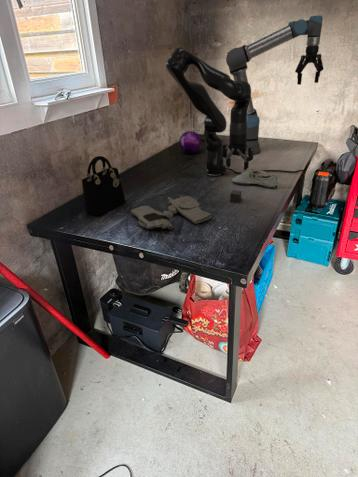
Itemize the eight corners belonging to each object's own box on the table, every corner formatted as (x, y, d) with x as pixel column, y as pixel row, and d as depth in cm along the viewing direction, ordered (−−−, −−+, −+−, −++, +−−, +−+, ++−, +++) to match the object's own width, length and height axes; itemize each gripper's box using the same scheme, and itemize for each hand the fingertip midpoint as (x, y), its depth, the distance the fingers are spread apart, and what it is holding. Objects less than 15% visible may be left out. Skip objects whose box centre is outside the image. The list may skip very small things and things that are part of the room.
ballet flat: (235, 178, 184) (236, 165, 180) (279, 184, 173) (281, 170, 169) (230, 183, 177) (230, 169, 173) (275, 190, 166) (276, 175, 163)
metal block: (240, 199, 160) (241, 190, 157) (238, 202, 156) (239, 194, 154) (232, 198, 161) (232, 190, 159) (230, 201, 158) (230, 193, 155)
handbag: (98, 217, 149) (87, 164, 137) (84, 214, 154) (72, 161, 141) (127, 201, 164) (120, 151, 152) (113, 198, 169) (105, 149, 156)
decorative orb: (204, 151, 235) (204, 129, 228) (194, 156, 225) (193, 134, 217) (186, 149, 243) (186, 128, 235) (175, 154, 232) (174, 132, 224)
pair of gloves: (147, 237, 131) (146, 225, 129) (129, 213, 152) (128, 202, 149) (214, 220, 141) (214, 209, 138) (188, 199, 162) (188, 189, 159)
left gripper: (257, 131, 141) (254, 168, 149) (227, 128, 149) (227, 163, 157) (249, 135, 136) (247, 173, 144) (219, 132, 144) (219, 168, 152)
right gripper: (324, 44, 209) (319, 81, 220) (291, 47, 202) (288, 84, 213) (333, 44, 203) (327, 82, 214) (300, 46, 196) (295, 85, 207)
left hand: (236, 168), depth 151 cm, fingers open, 8 cm apart
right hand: (307, 83), depth 213 cm, fingers open, 13 cm apart
